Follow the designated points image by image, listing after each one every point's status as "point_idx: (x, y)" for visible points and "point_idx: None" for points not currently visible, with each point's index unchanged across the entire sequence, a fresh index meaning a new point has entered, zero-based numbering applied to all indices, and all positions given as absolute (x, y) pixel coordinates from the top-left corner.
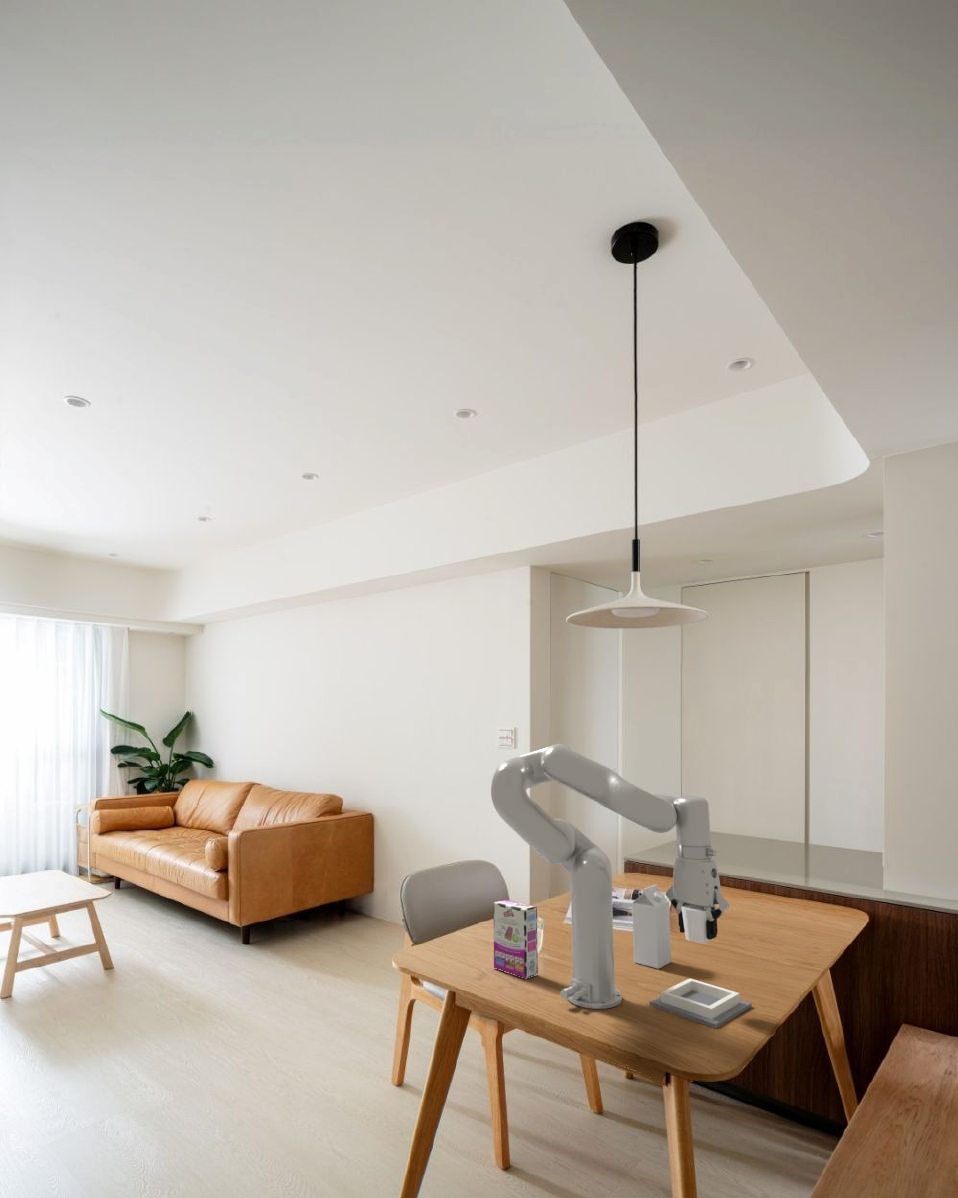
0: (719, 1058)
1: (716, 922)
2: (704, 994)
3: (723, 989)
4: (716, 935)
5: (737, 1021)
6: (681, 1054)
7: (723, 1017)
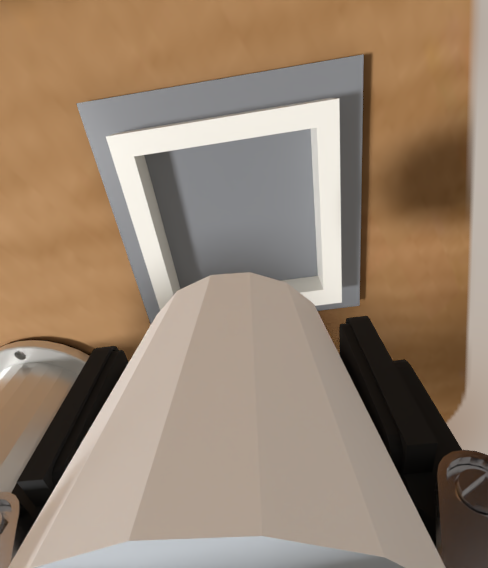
0: (431, 393)
1: (455, 449)
2: (197, 147)
3: (272, 123)
4: (368, 320)
5: (377, 213)
6: None
7: (352, 254)
